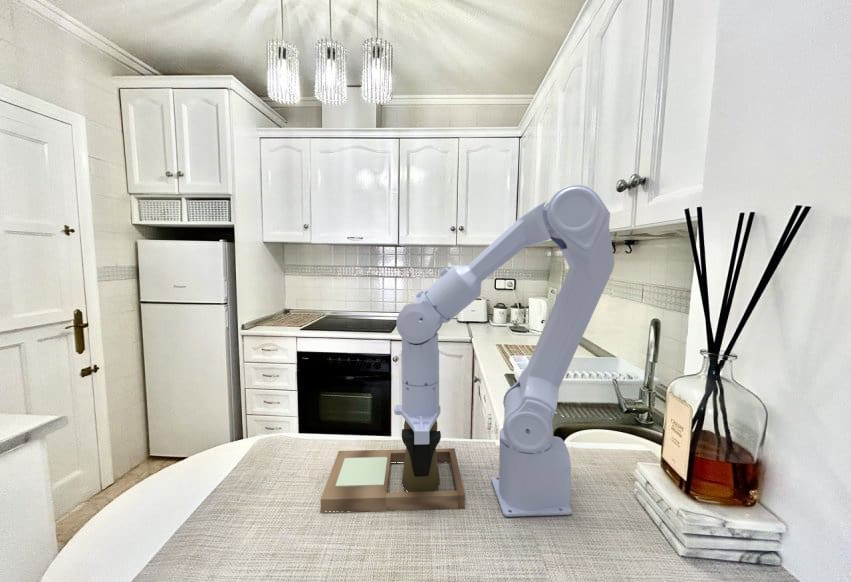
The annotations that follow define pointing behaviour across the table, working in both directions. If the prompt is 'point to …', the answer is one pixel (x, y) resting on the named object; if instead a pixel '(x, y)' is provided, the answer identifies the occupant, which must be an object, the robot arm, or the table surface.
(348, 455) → the well board
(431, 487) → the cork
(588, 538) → the table surface
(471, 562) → the table surface
